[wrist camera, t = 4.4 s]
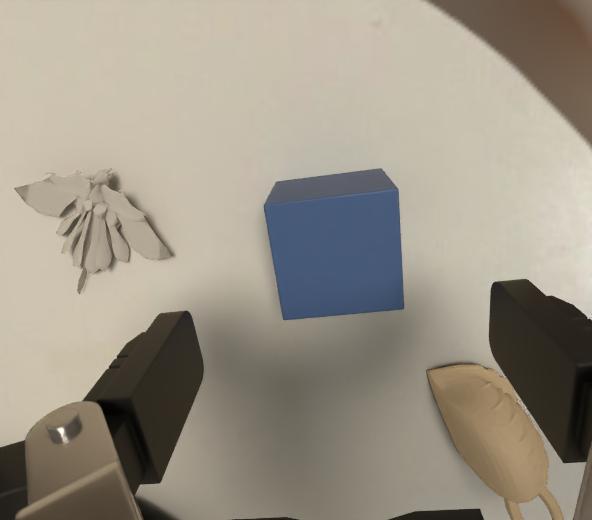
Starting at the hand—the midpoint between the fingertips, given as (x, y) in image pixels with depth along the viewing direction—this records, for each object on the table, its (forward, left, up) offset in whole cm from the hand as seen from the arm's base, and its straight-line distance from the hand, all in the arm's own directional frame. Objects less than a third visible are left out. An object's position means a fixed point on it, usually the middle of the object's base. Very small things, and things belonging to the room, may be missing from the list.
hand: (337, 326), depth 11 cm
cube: (0, 0, -10) cm, 10 cm away
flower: (+12, -1, -10) cm, 16 cm away
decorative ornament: (-7, +12, -10) cm, 18 cm away
